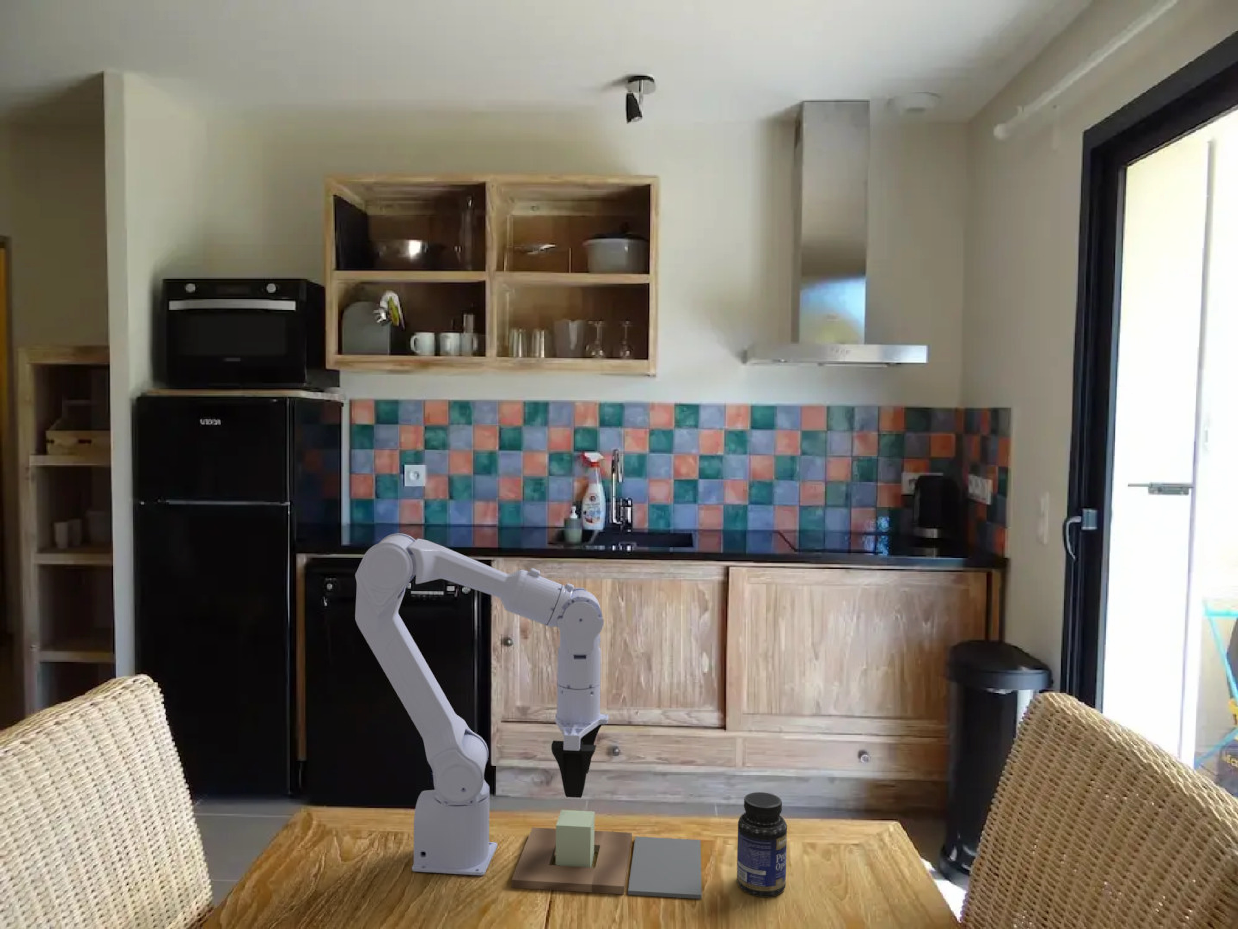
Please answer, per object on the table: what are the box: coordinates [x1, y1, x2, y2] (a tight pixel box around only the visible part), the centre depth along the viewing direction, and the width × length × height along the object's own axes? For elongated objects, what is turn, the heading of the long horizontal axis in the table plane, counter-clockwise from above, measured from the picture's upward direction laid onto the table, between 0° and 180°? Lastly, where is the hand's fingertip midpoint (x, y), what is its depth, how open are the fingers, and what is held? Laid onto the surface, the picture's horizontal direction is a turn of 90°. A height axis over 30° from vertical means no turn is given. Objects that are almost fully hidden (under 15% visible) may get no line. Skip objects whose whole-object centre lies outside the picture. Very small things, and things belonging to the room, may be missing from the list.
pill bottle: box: [736, 791, 788, 898], centre depth 109 cm, size 6×6×11 cm
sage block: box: [555, 809, 596, 868], centre depth 114 cm, size 4×4×6 cm
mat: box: [627, 836, 703, 900], centre depth 113 cm, size 9×14×1 cm, turn 175°
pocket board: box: [511, 827, 633, 895], centre depth 114 cm, size 14×14×1 cm
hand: (577, 784), depth 115 cm, fingers open, 7 cm apart
